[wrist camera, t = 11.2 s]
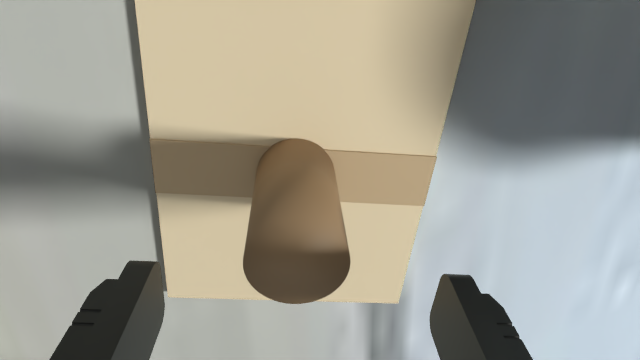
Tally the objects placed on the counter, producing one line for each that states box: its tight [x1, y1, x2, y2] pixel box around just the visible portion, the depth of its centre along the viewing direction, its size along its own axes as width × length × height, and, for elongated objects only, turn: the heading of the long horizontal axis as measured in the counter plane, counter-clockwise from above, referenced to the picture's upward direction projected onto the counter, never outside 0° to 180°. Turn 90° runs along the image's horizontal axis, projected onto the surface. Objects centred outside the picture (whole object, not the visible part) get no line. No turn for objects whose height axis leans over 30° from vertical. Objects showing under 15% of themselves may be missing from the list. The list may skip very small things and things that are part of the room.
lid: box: [135, 0, 476, 304], centre depth 15 cm, size 11×14×7 cm
